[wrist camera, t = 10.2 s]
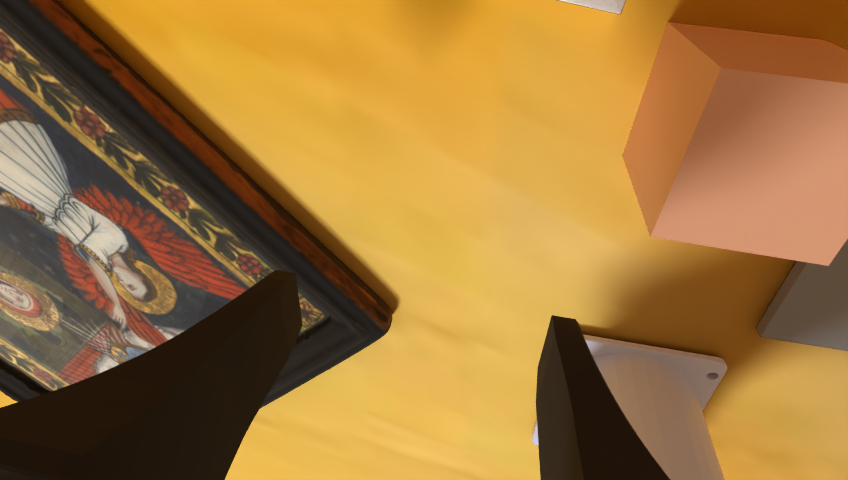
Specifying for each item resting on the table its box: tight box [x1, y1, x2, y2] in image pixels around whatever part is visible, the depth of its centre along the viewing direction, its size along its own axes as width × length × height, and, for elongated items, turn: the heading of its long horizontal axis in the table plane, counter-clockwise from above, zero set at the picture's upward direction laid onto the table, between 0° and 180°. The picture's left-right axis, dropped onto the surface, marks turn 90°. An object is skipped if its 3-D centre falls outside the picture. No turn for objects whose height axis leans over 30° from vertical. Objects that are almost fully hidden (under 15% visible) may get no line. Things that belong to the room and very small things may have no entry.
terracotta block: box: [622, 22, 848, 266], centre depth 15 cm, size 5×5×6 cm
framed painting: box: [0, 0, 392, 409], centre depth 29 cm, size 38×35×3 cm
